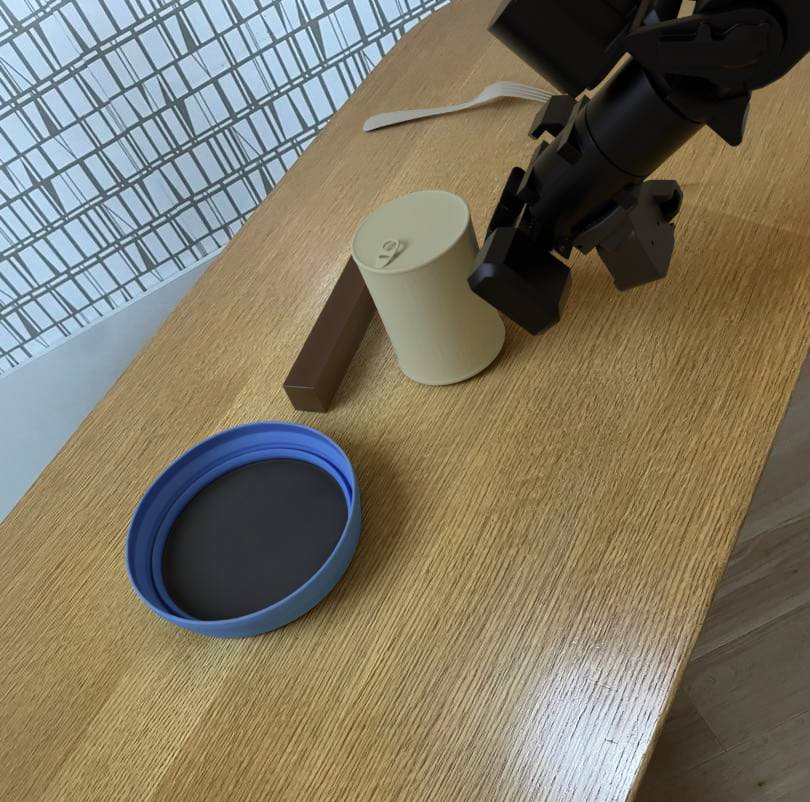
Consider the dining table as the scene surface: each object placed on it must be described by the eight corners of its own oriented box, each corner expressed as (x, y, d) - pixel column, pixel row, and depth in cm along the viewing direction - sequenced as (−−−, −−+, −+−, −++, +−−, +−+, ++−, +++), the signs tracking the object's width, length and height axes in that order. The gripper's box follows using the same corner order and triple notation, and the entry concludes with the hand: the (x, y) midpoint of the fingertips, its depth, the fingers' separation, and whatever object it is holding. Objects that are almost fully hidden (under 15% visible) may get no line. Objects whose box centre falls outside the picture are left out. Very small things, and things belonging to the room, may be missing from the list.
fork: (374, 139, 95) (365, 116, 93) (555, 91, 87) (549, 66, 85) (369, 154, 94) (360, 131, 92) (553, 107, 86) (547, 81, 84)
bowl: (383, 438, 66) (370, 408, 64) (353, 644, 57) (336, 619, 54) (179, 457, 71) (158, 430, 68) (119, 651, 61) (92, 628, 58)
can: (378, 374, 71) (324, 258, 61) (432, 300, 74) (389, 179, 65) (471, 396, 66) (427, 273, 57) (525, 315, 69) (492, 187, 60)
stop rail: (397, 266, 78) (388, 239, 75) (326, 413, 70) (314, 388, 67) (368, 266, 79) (358, 239, 77) (294, 410, 71) (281, 385, 68)
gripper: (693, 320, 49) (531, 427, 62) (737, 127, 57) (587, 256, 70) (545, 203, 45) (407, 342, 58) (615, 18, 54) (482, 174, 67)
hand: (480, 276), depth 64 cm, fingers closed, pressing on can
